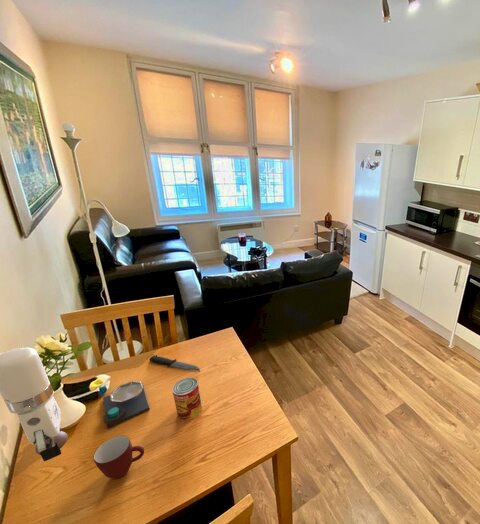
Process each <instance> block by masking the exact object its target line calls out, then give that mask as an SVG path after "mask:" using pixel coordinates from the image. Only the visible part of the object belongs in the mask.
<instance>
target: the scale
mask: <svg viewBox="0 0 480 524" xmlns="http://www.w3.org/2000/svg"><path fill="white" fill-rule="evenodd" d="M141 383H142V386H143V391H142V392H141V393H140V394H139V395H138V396H137V397H136V398H135V399H133V400H131V401H128V402H125V403H122V404H120V403H112V402H111V399H110V394H109V395H106V396H104V397H103V405H104V406H103V407H104V415H103V422H104V424H105V425H106V429H107V430H109V429H111V428H113V427H115V426H118V425H120V424H123V423H124V422H126V421H129V420H131V419H133V418H136V417H138V416H140V415H142V414H144V413H146V412H149V411H151V410H150V409H151V408H150V404H149V401H148V397H147V393H146V391H145V387H144V383H143V382H141ZM115 407H117V408H118V409H119V415H117V416H116V417H114V418H110V417H109V415H108V411H109V410H110V409H112V408H115Z"/></svg>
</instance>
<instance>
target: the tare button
mask: <svg viewBox="0 0 480 524" xmlns="http://www.w3.org/2000/svg"><path fill="white" fill-rule="evenodd" d="M108 415H109V417H110V418H114V417H116V416H117V415H119V409H118V408H117V407H115V408H112V409H110V410H109V411H108Z"/></svg>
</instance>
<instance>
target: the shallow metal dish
mask: <svg viewBox="0 0 480 524" xmlns="http://www.w3.org/2000/svg"><path fill="white" fill-rule="evenodd" d="M142 383H143V382H142V381H138V380H130V381H127V382H125V383H122V384H119V385H118V386H116V387H115V389H114V390H112V391H111V392H110V393H109V395H110V399H111V402H112V403H120V404H122V403H125V402H128V401H131V400H133V399H135V398H136V397H137V396H138V395H139V394H140V393H141V392H142V391H143V387H144V385H143V386H142Z"/></svg>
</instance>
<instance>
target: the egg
mask: <svg viewBox="0 0 480 524" xmlns="http://www.w3.org/2000/svg"><path fill="white" fill-rule="evenodd" d="M46 436H47V435H46ZM68 439H69V436H68V434H67V433H66V432H65V431H63V430H61V431H59V434H58V435H57V436H54V441H55V443H56V442H57V443H58V445H59V448H60V449H62V448H63V447H64V446H65V444H66V443H67V441H68ZM45 442H46V444H47V443H50V439H47V440H45ZM34 449H35V451H34V452H35V453H36V454H37V455H39V456H41V454H40V453H39V452H38V448H37V444H35V448H34Z"/></svg>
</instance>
